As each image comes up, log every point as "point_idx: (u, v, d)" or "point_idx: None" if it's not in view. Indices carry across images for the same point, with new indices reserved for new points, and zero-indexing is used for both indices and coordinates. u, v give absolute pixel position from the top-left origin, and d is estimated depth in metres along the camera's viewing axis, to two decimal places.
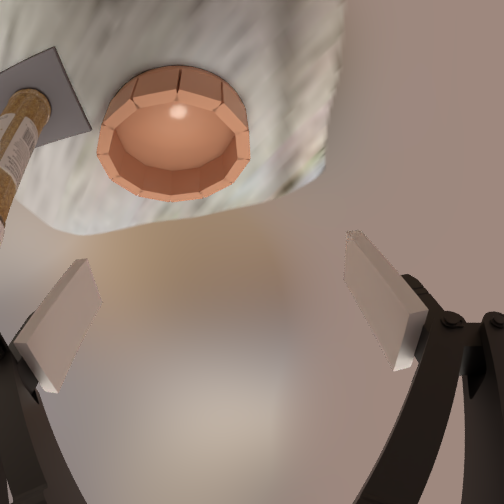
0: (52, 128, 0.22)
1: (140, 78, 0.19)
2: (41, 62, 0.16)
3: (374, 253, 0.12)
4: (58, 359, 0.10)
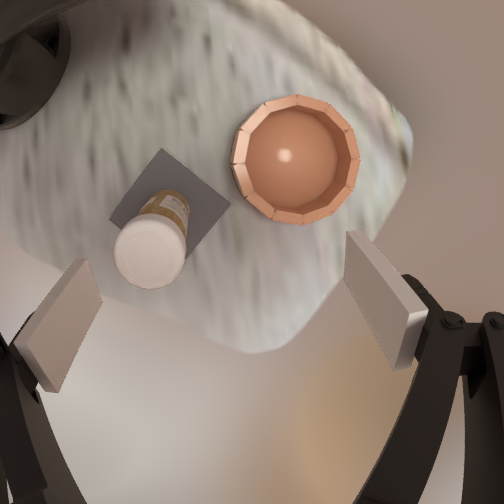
0: (197, 221, 0.32)
1: (238, 128, 0.28)
2: (157, 164, 0.29)
3: (374, 253, 0.12)
4: (58, 359, 0.10)
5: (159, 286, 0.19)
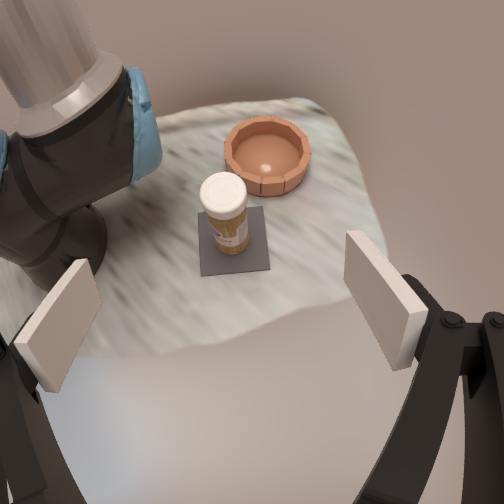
0: (254, 230, 0.42)
1: None
2: (203, 221, 0.43)
3: (374, 253, 0.12)
4: (58, 359, 0.10)
5: (241, 200, 0.29)
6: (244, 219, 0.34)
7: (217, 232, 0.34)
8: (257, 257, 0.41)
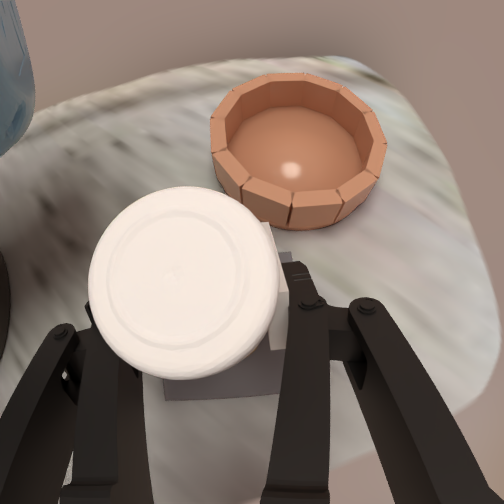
0: None
1: None
2: None
3: None
4: None
5: (259, 322, 0.06)
6: None
7: None
8: (282, 365, 0.18)
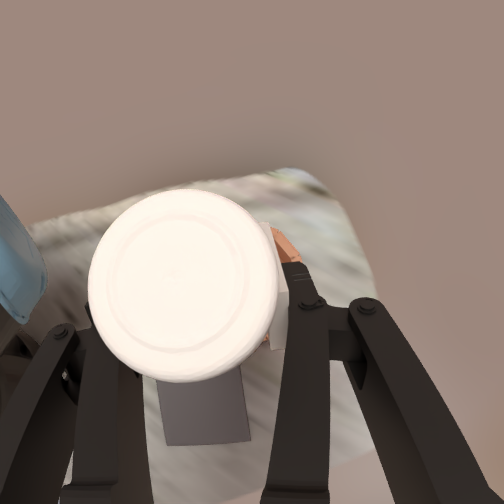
0: (228, 393, 0.30)
1: None
2: None
3: None
4: None
5: (259, 326, 0.06)
6: None
7: None
8: (234, 427, 0.29)
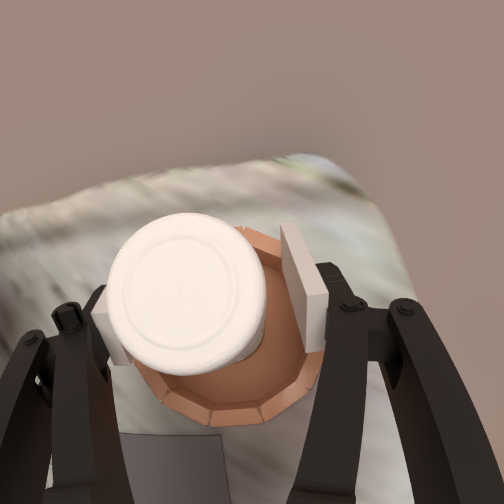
0: (204, 478, 0.18)
1: None
2: None
3: (297, 242, 0.14)
4: None
5: (248, 329, 0.08)
6: (257, 335, 0.12)
7: None
8: None
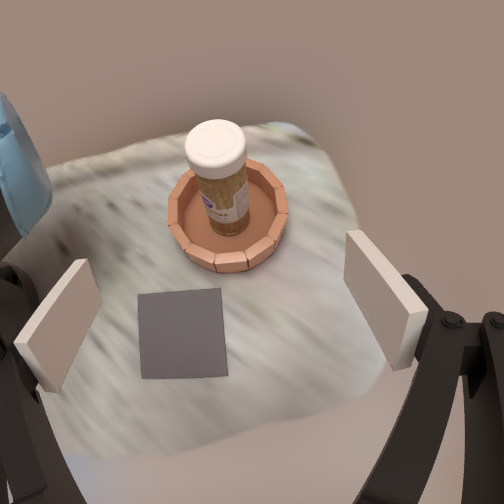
0: (207, 322, 0.31)
1: None
2: (144, 307, 0.32)
3: (374, 253, 0.12)
4: (58, 359, 0.10)
5: (239, 151, 0.21)
6: (243, 184, 0.26)
7: (209, 201, 0.27)
8: (211, 359, 0.30)
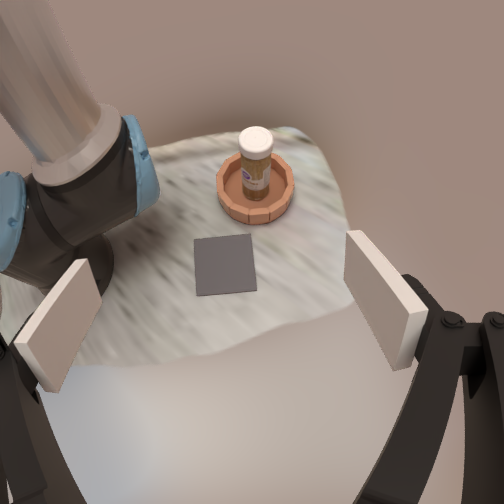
0: (243, 255, 0.48)
1: (219, 199, 0.50)
2: (198, 247, 0.49)
3: (374, 253, 0.12)
4: (58, 359, 0.10)
5: (270, 144, 0.38)
6: (269, 164, 0.43)
7: (248, 174, 0.44)
8: (246, 279, 0.47)
